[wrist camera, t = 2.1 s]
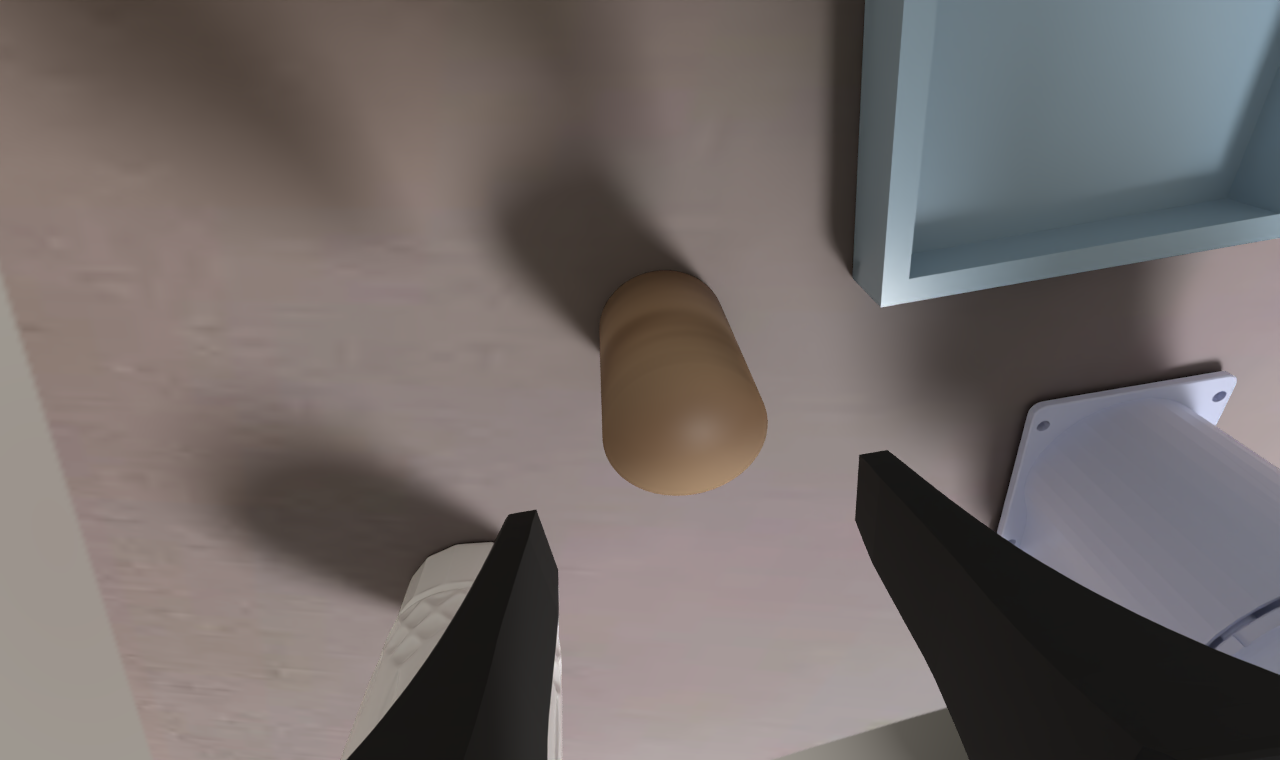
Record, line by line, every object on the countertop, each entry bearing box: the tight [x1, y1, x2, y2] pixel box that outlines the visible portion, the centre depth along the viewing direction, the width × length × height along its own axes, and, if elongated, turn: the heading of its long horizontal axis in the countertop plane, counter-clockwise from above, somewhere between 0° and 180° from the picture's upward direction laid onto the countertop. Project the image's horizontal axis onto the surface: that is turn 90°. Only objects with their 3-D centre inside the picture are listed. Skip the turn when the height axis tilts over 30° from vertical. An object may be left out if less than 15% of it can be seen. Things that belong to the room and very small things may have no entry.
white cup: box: [340, 542, 562, 760], centre depth 23 cm, size 8×8×10 cm
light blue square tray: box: [853, 0, 1280, 307], centre depth 15 cm, size 13×13×2 cm
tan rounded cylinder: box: [599, 270, 768, 496], centre depth 18 cm, size 4×4×6 cm
